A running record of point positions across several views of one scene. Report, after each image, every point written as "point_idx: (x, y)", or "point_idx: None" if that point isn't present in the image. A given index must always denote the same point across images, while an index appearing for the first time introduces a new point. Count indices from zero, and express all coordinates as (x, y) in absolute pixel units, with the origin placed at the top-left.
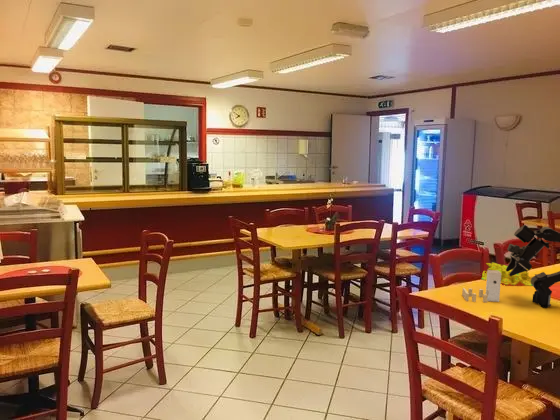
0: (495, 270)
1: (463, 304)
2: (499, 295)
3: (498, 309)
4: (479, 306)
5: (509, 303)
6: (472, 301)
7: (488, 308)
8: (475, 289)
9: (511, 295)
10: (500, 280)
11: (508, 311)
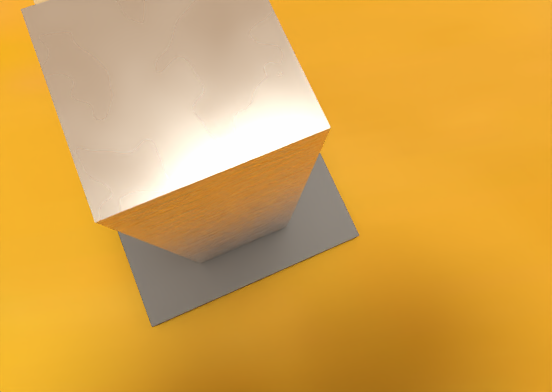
0: (302, 73)
1: (21, 40)
2: (189, 258)
3: (28, 289)
4: (32, 146)
5: (268, 341)
6: None
7: (14, 214)
8: (500, 37)
9: (538, 315)
10: (146, 239)
11: (13, 374)
